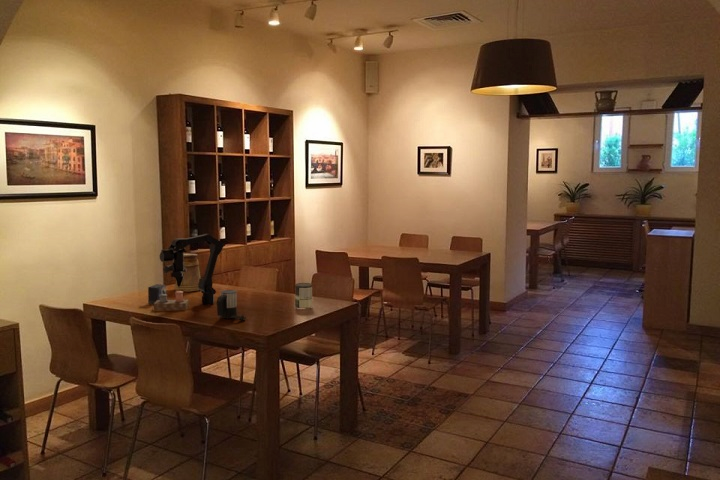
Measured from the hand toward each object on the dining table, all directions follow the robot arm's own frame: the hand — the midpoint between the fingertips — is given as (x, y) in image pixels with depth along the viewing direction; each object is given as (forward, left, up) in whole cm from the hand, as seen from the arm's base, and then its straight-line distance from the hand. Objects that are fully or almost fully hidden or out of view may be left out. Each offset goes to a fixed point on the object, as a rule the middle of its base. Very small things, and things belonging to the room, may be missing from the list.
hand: (179, 286), depth 343 cm
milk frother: (-33, +28, -13) cm, 45 cm away
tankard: (+3, -57, -13) cm, 58 cm away
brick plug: (0, 0, -11) cm, 11 cm away
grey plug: (+9, 0, -13) cm, 16 cm away
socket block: (+4, 0, -13) cm, 14 cm away
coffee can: (-73, +5, -13) cm, 74 cm away
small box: (+15, -17, -13) cm, 26 cm away
